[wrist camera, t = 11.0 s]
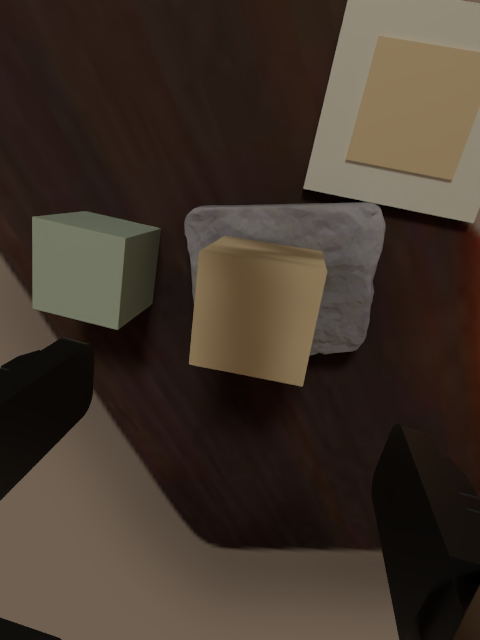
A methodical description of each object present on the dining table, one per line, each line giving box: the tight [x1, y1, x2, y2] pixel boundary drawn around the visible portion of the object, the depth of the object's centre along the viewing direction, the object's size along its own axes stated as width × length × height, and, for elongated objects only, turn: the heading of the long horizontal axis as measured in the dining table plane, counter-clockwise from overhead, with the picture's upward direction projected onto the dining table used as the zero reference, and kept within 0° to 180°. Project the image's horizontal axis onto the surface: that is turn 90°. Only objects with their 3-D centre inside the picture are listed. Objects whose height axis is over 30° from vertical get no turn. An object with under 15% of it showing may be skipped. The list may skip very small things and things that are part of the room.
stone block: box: [185, 202, 385, 355], centre depth 24 cm, size 12×5×10 cm
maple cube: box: [189, 236, 327, 387], centre depth 19 cm, size 6×6×6 cm
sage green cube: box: [32, 211, 161, 330], centre depth 24 cm, size 6×6×6 cm
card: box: [303, 0, 480, 223], centre depth 21 cm, size 10×10×1 cm
